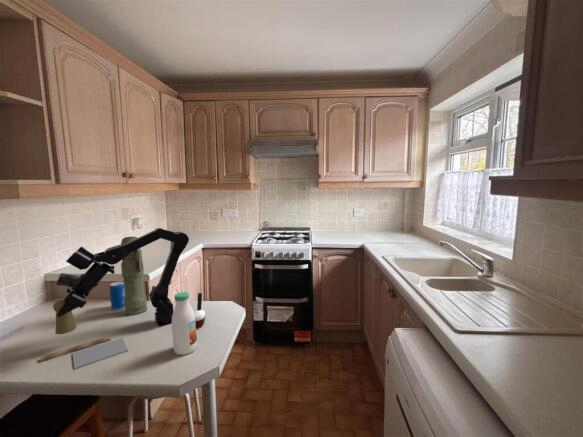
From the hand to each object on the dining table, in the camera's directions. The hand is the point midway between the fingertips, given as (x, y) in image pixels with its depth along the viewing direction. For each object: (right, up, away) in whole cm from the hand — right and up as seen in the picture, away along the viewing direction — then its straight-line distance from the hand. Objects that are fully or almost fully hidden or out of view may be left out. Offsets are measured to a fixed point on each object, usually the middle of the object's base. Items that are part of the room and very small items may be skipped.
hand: (58, 313), depth 100 cm
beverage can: (-1, -10, +37) cm, 38 cm away
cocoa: (+44, -10, +16) cm, 48 cm away
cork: (+1, -7, +2) cm, 7 cm away
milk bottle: (+46, -12, -1) cm, 47 cm away
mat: (+16, -13, -2) cm, 21 cm away
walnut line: (+6, -13, +1) cm, 14 cm away
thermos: (+10, -10, +32) cm, 35 cm away
